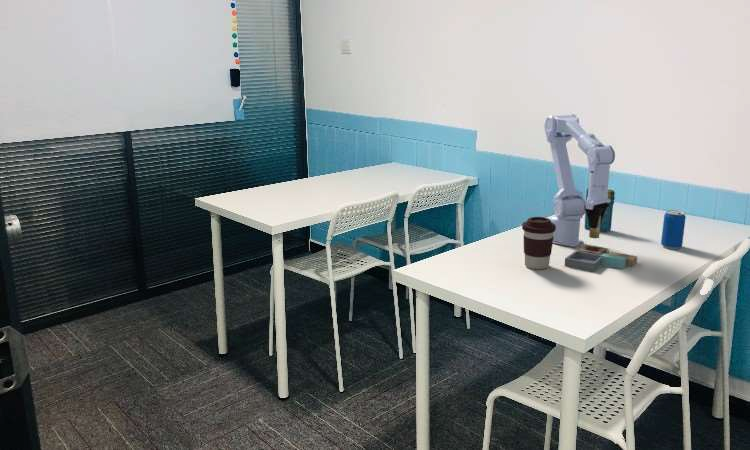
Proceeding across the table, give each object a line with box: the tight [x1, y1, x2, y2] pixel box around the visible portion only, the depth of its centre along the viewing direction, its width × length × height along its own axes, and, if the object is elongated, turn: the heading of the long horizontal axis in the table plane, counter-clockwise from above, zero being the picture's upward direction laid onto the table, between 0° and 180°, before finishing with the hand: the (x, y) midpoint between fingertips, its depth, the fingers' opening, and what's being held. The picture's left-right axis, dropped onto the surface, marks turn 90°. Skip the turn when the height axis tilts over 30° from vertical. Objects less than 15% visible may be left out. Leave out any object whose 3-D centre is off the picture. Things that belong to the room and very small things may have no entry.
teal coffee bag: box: [584, 187, 616, 233], centre depth 236 cm, size 10×4×15 cm, turn 58°
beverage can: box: [660, 209, 686, 250], centre depth 217 cm, size 6×6×12 cm
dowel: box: [588, 216, 601, 239], centre depth 207 cm, size 3×3×7 cm
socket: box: [577, 244, 609, 255], centre depth 210 cm, size 7×7×2 cm
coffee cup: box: [521, 216, 556, 270], centre depth 200 cm, size 10×10×15 cm
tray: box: [564, 250, 602, 272], centre depth 203 cm, size 9×9×2 cm
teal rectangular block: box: [600, 253, 627, 270], centre depth 201 cm, size 7×3×3 cm, turn 53°
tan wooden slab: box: [608, 251, 638, 268], centre depth 204 cm, size 8×5×2 cm, turn 54°
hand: (594, 226), depth 207 cm, fingers closed on dowel, 3 cm apart
